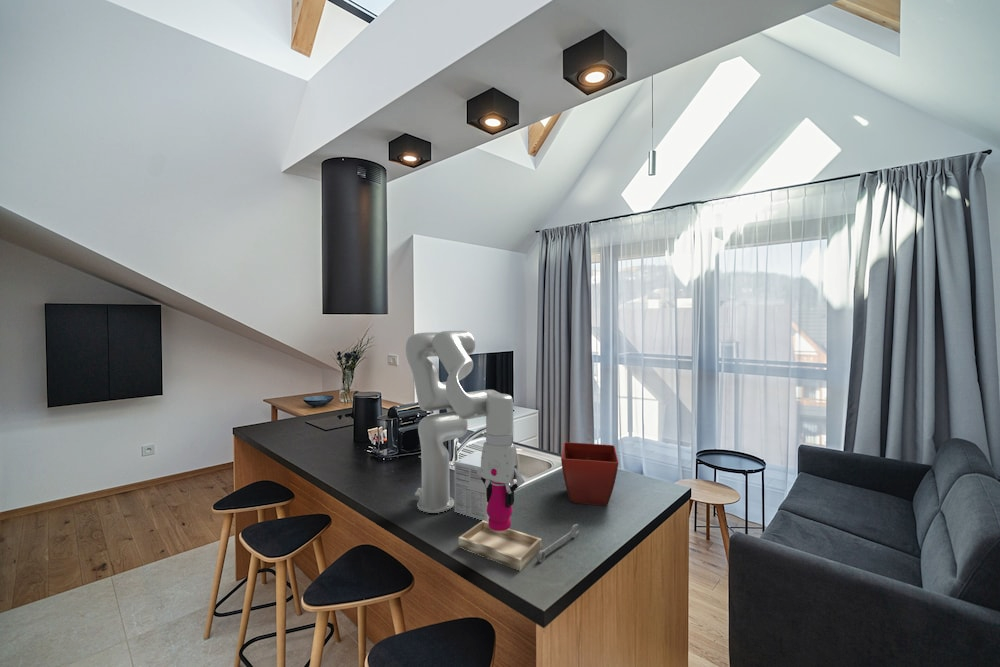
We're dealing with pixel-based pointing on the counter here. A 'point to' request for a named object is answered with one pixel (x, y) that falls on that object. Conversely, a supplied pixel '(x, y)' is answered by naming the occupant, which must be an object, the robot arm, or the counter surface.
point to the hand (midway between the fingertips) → (500, 502)
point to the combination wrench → (557, 543)
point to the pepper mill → (498, 507)
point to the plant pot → (589, 472)
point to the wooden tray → (501, 545)
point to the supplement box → (470, 488)
